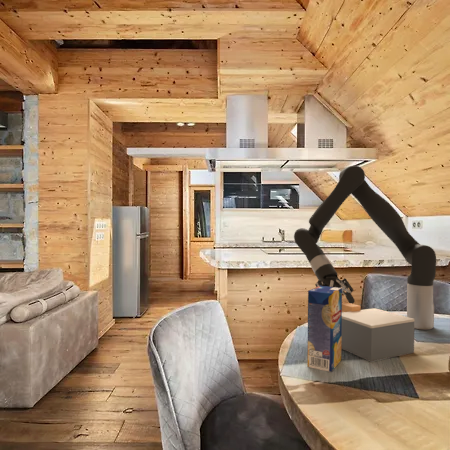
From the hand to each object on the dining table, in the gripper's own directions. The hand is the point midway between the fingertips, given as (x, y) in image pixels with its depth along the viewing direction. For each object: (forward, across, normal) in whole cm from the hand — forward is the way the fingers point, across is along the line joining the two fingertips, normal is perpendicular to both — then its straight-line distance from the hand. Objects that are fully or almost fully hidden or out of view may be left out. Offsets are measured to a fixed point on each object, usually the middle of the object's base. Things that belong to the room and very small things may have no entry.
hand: (344, 304), depth 132 cm
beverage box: (+20, -23, -3) cm, 31 cm away
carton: (+18, 0, -1) cm, 18 cm away
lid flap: (+8, 0, -6) cm, 10 cm away
